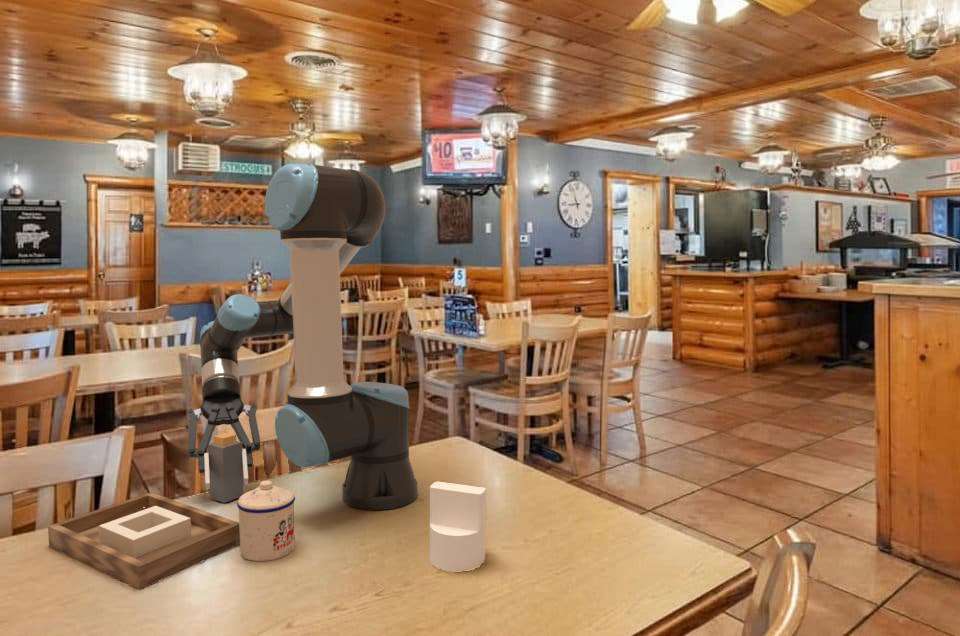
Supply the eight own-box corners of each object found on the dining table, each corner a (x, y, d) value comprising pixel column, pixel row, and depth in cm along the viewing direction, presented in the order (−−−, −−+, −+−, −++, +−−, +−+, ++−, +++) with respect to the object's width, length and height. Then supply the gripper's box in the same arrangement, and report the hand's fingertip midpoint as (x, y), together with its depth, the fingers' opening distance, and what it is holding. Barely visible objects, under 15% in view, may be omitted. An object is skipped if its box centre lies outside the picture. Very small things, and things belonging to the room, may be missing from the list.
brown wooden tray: (241, 543, 110) (241, 523, 110) (139, 589, 95) (138, 566, 95) (151, 510, 124) (150, 492, 124) (49, 546, 109) (47, 526, 108)
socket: (191, 534, 111) (190, 518, 111) (134, 558, 103) (133, 540, 102) (156, 521, 116) (155, 505, 116) (99, 542, 108) (98, 525, 107)
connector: (243, 495, 131) (241, 434, 129) (224, 502, 127) (222, 439, 126) (229, 491, 133) (226, 431, 132) (209, 498, 129) (207, 436, 128)
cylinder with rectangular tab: (492, 551, 108) (493, 481, 107) (474, 576, 100) (474, 501, 99) (442, 543, 111) (442, 475, 110) (420, 567, 103) (420, 493, 102)
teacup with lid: (283, 564, 103) (281, 493, 102) (228, 561, 104) (226, 490, 103) (310, 532, 115) (309, 468, 114) (261, 529, 116) (259, 466, 115)
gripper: (266, 391, 146) (277, 485, 133) (172, 398, 138) (173, 499, 125) (268, 372, 141) (279, 468, 127) (170, 378, 133) (171, 481, 120)
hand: (227, 483), depth 126 cm, fingers closed on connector, 6 cm apart
